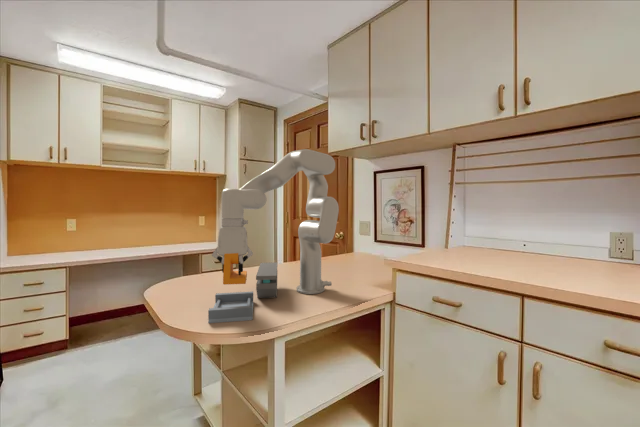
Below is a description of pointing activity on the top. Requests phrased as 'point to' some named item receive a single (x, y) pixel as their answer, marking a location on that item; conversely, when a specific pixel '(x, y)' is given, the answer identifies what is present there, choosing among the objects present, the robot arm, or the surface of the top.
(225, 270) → the bracket
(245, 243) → the robot arm
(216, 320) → the grey tray
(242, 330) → the top surface
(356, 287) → the top surface
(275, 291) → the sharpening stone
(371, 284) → the top surface
